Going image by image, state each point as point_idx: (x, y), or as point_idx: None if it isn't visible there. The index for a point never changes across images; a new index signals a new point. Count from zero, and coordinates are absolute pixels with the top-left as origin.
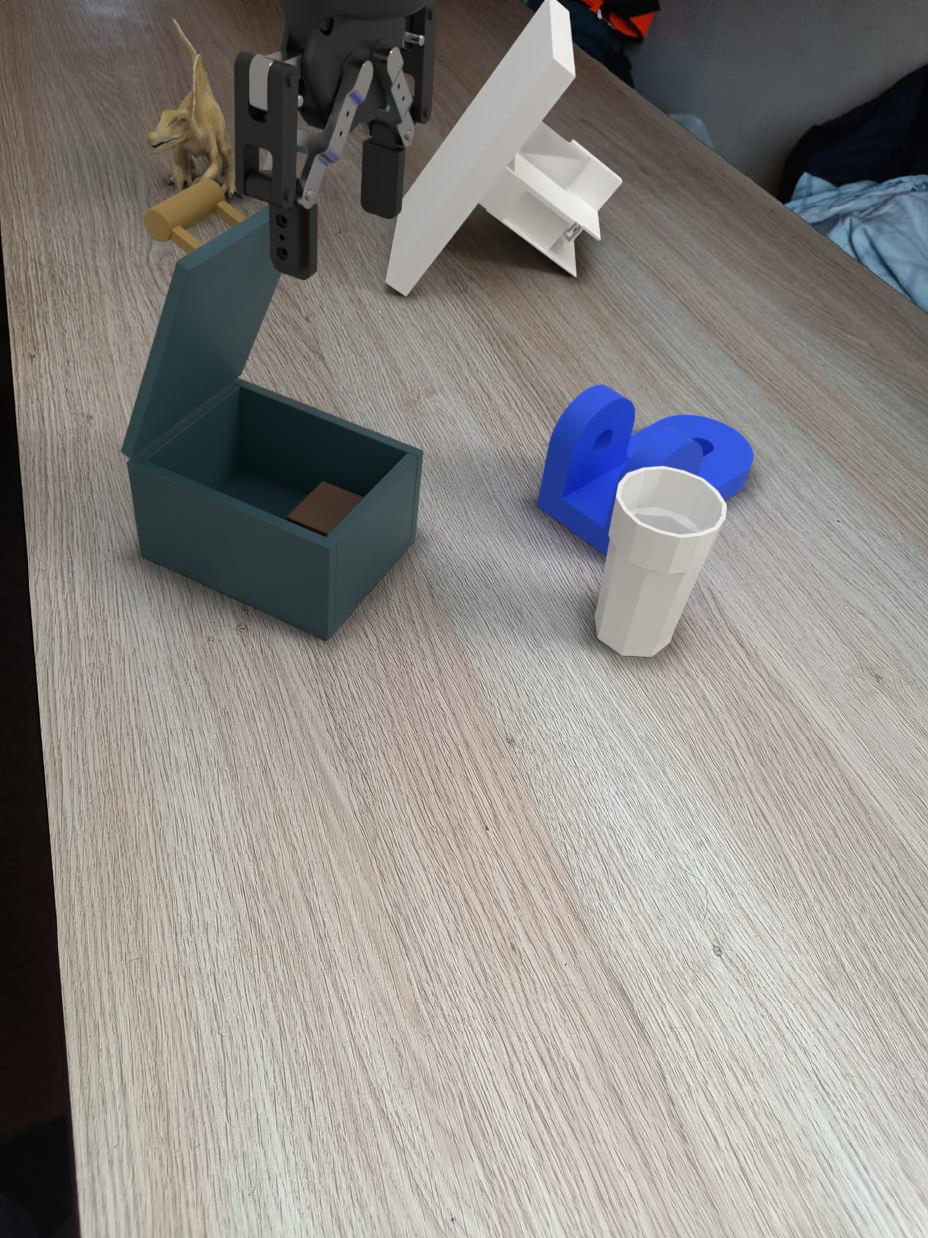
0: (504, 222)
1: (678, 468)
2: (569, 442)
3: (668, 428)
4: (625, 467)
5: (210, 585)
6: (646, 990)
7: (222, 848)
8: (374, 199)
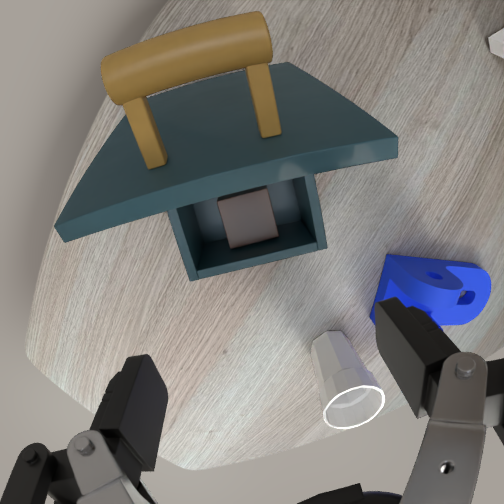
0: None
1: None
2: (410, 292)
3: None
4: None
5: None
6: (181, 424)
7: (89, 304)
8: (383, 331)
